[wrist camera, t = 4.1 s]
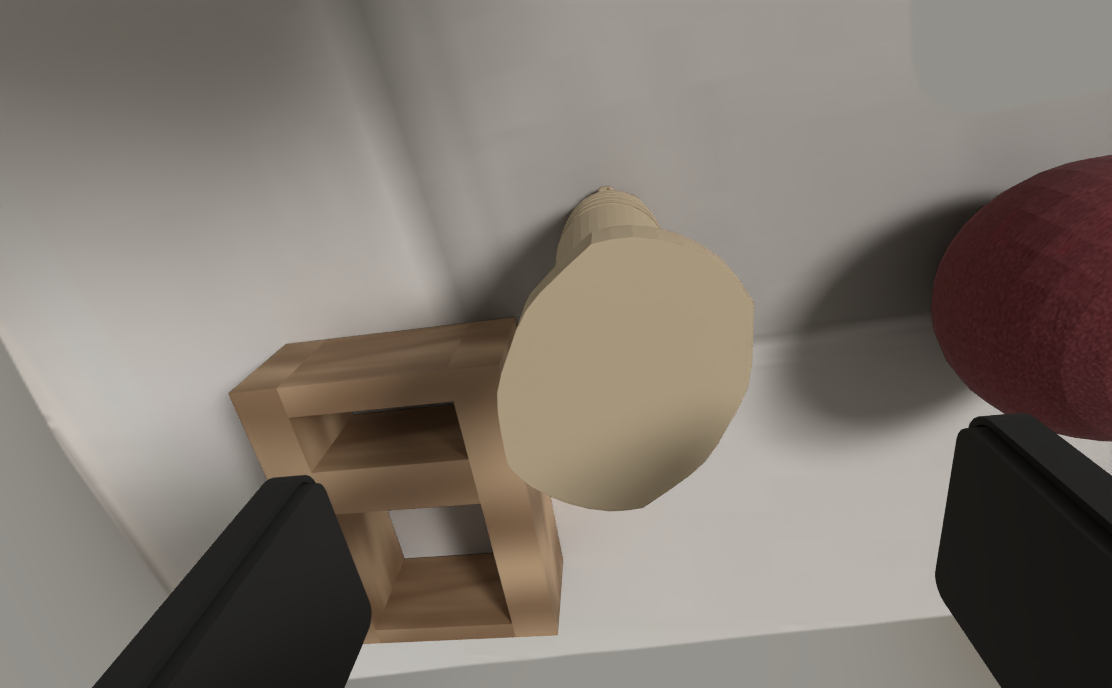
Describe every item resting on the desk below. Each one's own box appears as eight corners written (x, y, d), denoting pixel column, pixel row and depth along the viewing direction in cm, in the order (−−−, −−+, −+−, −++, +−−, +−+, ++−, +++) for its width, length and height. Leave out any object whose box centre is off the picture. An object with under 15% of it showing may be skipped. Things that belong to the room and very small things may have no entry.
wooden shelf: (285, 344, 29) (228, 393, 24) (514, 317, 27) (498, 364, 23) (374, 572, 36) (342, 644, 31) (563, 561, 34) (557, 635, 30)
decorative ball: (942, 397, 28) (1107, 552, 19) (845, 239, 25) (986, 332, 16) (1170, 279, 25) (1501, 396, 16) (1090, 81, 22) (1442, 85, 13)
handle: (534, 268, 26) (467, 471, 13) (582, 130, 24) (561, 201, 10) (631, 302, 27) (665, 534, 13) (689, 170, 24) (806, 290, 10)
